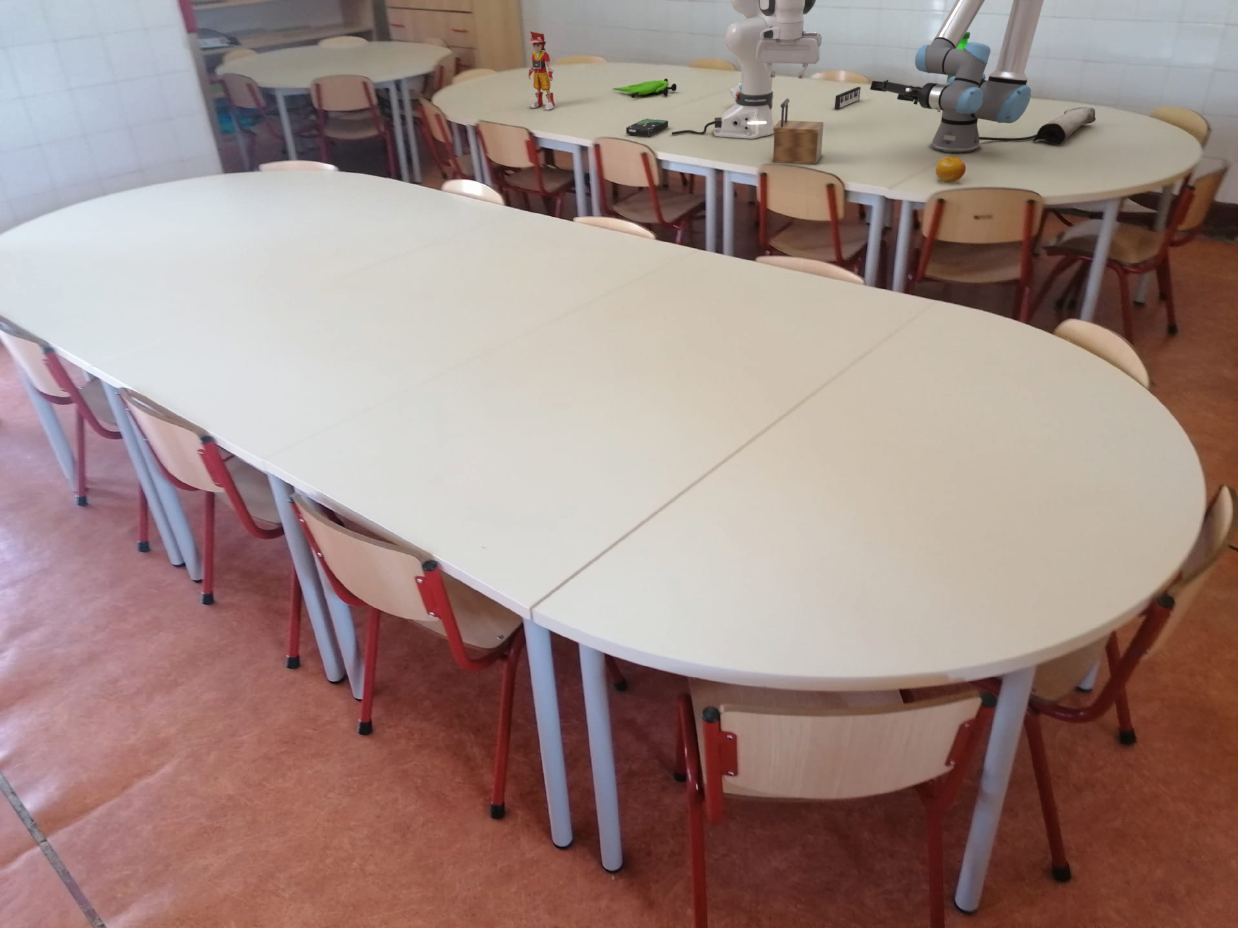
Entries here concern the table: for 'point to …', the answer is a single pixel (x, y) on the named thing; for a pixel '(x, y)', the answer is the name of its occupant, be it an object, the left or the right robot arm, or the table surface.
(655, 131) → the disk drive
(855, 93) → the midi keyboard
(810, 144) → the chest
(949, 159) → the fruit
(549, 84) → the toy
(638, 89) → the toy
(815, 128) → the lid
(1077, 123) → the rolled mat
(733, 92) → the anatomical model
